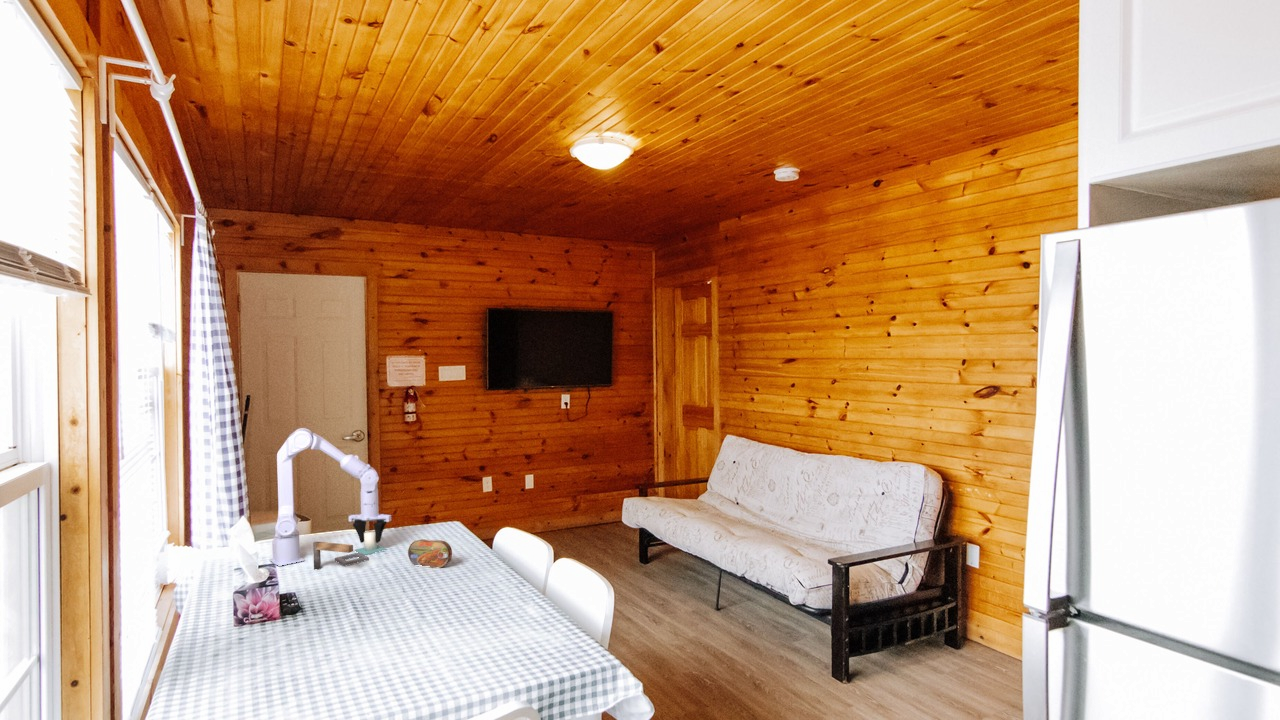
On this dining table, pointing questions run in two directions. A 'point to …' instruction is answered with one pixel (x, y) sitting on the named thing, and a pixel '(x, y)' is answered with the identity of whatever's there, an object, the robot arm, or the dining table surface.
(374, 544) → the plug
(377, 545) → the teal mat
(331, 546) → the retention bar
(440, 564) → the tin
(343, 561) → the socket plate
